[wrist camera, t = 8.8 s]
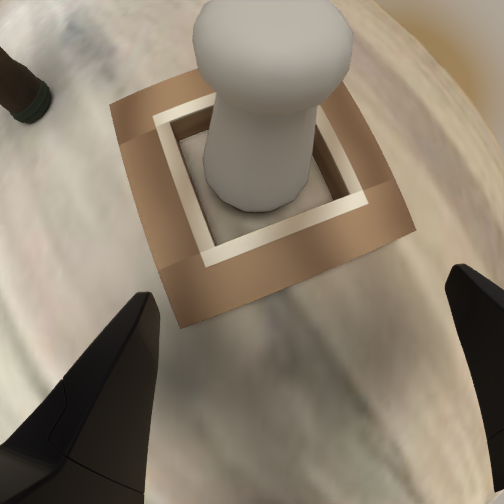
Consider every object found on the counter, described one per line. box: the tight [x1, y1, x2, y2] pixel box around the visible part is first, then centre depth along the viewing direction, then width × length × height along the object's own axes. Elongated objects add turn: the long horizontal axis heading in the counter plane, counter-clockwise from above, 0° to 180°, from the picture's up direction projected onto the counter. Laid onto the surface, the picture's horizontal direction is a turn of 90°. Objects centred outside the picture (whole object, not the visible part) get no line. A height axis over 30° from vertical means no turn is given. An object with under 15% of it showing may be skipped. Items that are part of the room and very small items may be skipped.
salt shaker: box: [193, 0, 353, 212], centre depth 12 cm, size 6×6×13 cm
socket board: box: [109, 69, 416, 329], centre depth 17 cm, size 14×14×3 cm
